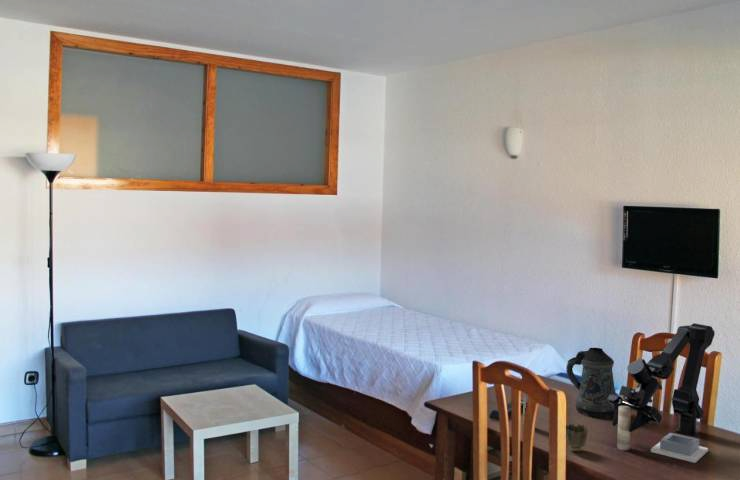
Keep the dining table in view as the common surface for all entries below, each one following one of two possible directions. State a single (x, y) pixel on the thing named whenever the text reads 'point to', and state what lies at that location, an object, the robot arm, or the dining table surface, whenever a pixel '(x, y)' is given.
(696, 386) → the robot arm
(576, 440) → the cup
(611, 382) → the beer stein
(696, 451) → the socket block
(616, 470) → the dining table surface
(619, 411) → the peg
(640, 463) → the dining table surface
